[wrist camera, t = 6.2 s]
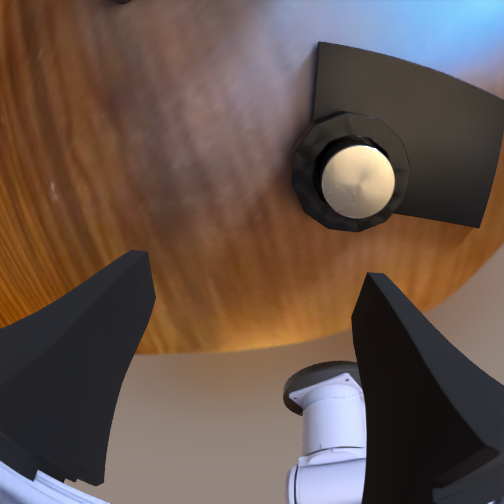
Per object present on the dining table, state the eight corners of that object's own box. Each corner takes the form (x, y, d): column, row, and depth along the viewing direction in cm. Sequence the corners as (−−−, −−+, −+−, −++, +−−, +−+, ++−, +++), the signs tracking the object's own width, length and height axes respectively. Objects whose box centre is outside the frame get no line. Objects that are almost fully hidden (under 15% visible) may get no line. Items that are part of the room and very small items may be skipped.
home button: (390, 146, 15) (401, 152, 13) (378, 210, 17) (386, 223, 15) (322, 134, 15) (326, 139, 13) (313, 202, 17) (316, 214, 15)
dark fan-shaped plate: (502, 100, 13) (521, 104, 11) (471, 236, 18) (485, 250, 17) (301, 40, 14) (303, 33, 12) (286, 210, 19) (286, 225, 17)
